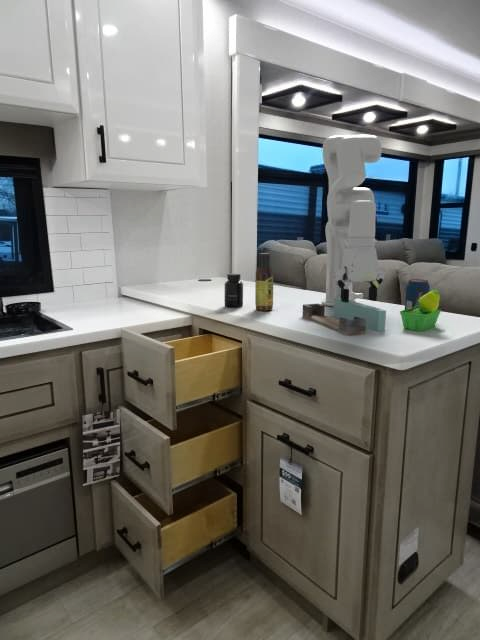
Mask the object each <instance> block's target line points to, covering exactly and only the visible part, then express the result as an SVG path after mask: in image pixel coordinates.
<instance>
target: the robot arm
mask: <svg viewBox="0 0 480 640" xmlns="http://www.w3.org/2000/svg"><path fill="white" fill-rule="evenodd" d="M382 152H383V149H382V142H381V139H380V138H379V137H378V136H377V135H371V134H356V135H355V134H352V135H351V134H345V135H343V134H342V135H340V134H339V135H333V136H329V137H327V138H326V139H325V140H324V141H323V144H322V160H323V164H324V168H325V170H326V174H327V178H328V194H327V197H326V198H327V199H326V207H327V209H326V210H327V218H328V219H327V222H326V225H325V231H324V232H325V239H326V279H325V280H326V284H325V288H326V289H325V299H322V300H321V305H324V306H328V307H334V298H341V301H342V302H345V303H348V302H349V300H351V301H354V302H357V301H356V299H363V298H364V293H363V292H360V293H359V292H358V293H356V292H355V291H353V283H368V285H370V286H369V288H368V301H373V302H377V300H378V299H377V297H378V289H379V287H380V286H381V284H382V283H383V281H384V278H385V277H386V272H385V271H383V270H382V269H380V268H378V255H377V248H376V247H375V245H377V244H378V239H376V238H375V237H376V215H377V214H376V213H377V211H376V209H377V206H376V202H375V195H374V193H373V191H372V189H371V188H368V187H358V186H360V185H362V184H363V182H364V181H365V180H366V177H367V173H366V165H365V164H374V163H378V162H379V160H380V158H381V156H382Z"/></svg>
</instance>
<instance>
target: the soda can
mask: <svg viewBox="0 0 480 640" xmlns="http://www.w3.org/2000/svg"><path fill="white" fill-rule="evenodd" d="M430 287H431V286H430V283H429V280H427V279H421V278H420V279H418V278H417V279H415V278H413V279H408V281H407V284H406V287H405V299H404V300H405V301H404V310H406V309H410V308H414V307H419V302H418V300H419V299H420V298H421V297H422V296H423V295H426V294H427V293H429V292H430V291H431V289H430Z"/></svg>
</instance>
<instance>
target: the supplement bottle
mask: <svg viewBox="0 0 480 640" xmlns="http://www.w3.org/2000/svg"><path fill="white" fill-rule="evenodd" d="M226 277H227V278H226V279H227V280H226V281H225V282H224V307H225V308H228V309H240V308H242V307H243V305H244V283H243V282H242V281H241V274H240V273H228V274H227V275H226Z"/></svg>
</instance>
